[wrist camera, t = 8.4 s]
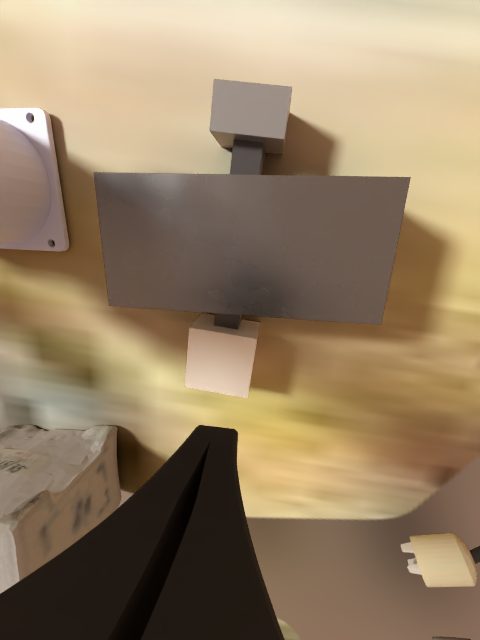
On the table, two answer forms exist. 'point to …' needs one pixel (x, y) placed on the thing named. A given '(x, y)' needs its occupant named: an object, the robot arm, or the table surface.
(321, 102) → the table surface
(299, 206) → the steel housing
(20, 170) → the robot arm
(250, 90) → the dumbbell with block ends
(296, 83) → the table surface
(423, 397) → the table surface
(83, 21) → the table surface
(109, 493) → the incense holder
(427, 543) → the cable
